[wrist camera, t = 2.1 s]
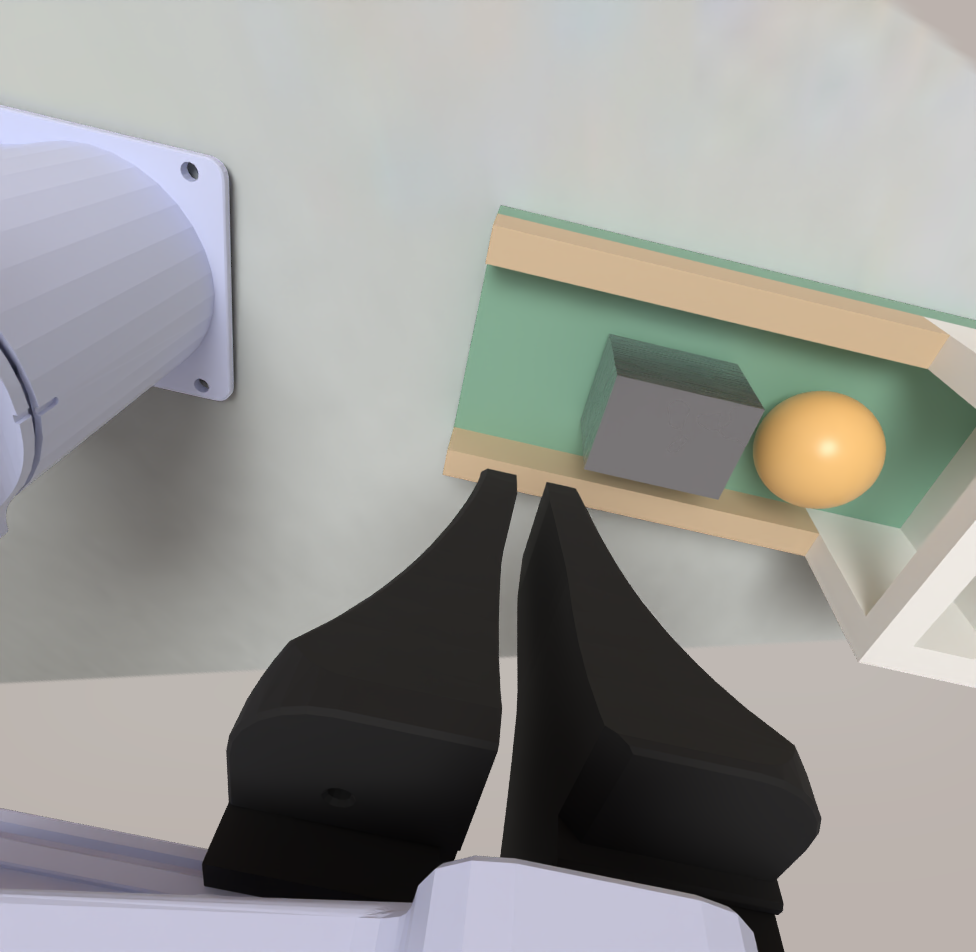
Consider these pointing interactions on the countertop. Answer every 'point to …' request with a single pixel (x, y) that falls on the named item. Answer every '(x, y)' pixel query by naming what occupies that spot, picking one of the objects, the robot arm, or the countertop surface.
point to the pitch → (774, 378)
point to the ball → (819, 449)
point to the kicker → (667, 417)
